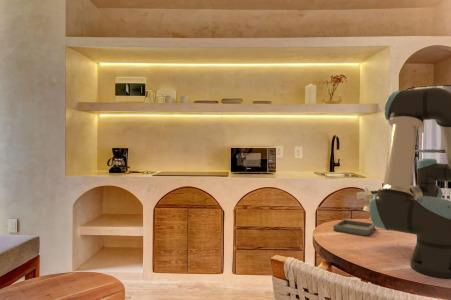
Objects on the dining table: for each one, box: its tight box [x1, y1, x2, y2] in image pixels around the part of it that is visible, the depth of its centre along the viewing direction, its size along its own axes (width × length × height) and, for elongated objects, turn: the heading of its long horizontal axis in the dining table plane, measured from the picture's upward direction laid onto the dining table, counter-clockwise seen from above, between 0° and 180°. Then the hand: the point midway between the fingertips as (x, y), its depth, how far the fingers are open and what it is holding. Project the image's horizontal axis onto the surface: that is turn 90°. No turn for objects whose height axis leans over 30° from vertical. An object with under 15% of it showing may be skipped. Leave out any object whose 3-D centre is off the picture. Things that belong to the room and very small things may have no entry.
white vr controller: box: [362, 186, 371, 213], centre depth 147 cm, size 8×12×7 cm
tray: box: [333, 219, 376, 237], centre depth 162 cm, size 15×15×2 cm
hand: (361, 196), depth 145 cm, fingers closed on white vr controller, 4 cm apart
